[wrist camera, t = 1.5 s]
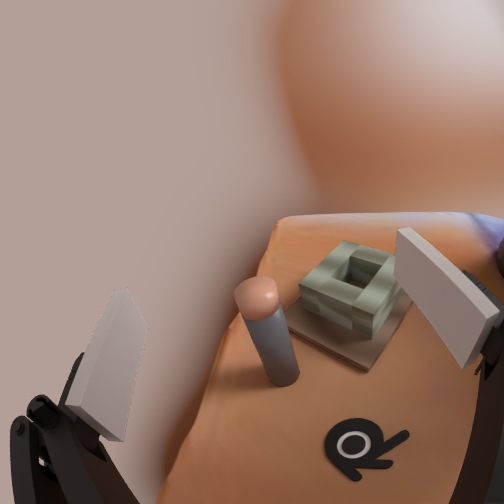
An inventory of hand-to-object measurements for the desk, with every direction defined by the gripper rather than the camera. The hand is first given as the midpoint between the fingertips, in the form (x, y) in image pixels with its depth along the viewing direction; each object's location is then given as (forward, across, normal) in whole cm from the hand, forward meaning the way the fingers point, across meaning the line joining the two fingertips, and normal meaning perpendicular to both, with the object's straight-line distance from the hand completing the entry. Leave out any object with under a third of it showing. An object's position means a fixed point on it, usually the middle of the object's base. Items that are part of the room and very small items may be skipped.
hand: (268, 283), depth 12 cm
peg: (+11, 0, -23) cm, 26 cm away
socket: (+20, +13, -22) cm, 32 cm away
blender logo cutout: (-3, +9, -24) cm, 25 cm away
